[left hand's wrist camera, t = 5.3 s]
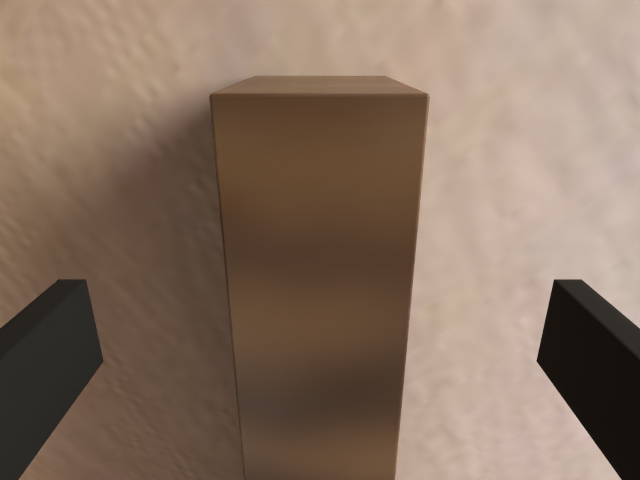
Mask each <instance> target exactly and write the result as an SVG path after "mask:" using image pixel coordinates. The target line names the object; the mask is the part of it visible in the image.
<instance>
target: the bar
mask: <svg viewBox="0 0 640 480" xmlns="http://www.w3.org/2000/svg"><path fill="white" fill-rule="evenodd" d="M210 108H211V119H212V130H213V141H214V152H215V163H216V174H217V185H218V196H219V207H220V218H221V229H222V240H223V251H224V262H225V273H226V284H227V295H228V306H229V317H230V328H231V338H232V349H233V360H234V371H235V382H236V393H237V404H238V415H239V426H240V437H241V448H242V459H243V470H244V480H395V473H396V462H397V451H398V440H399V429H400V418H401V407H402V396H403V385H404V374H405V363H406V352H407V341H408V330H409V319H410V307H411V296H412V285H413V274H414V263H415V252H416V241H417V230H418V219H419V208H420V197H421V186H422V175H423V164H424V153H425V141H426V130H427V119H428V108H429V94H427V93H424V92H422V91H420V90H417V89H415V88H412V87H410V86H408V85H405V84H403V83H401V82H398V81H396V80H393V79H391V78H389V77H386V76H254V77H252V78H249V79H247V80H244V81H242V82H239V83H237V84H234V85H232V86H230V87H227V88H225V89H222V90H220V91H217V92H215V93H212V94H210Z"/></svg>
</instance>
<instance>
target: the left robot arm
mask: <svg viewBox="0 0 640 480" xmlns="http://www.w3.org/2000/svg"><path fill="white" fill-rule="evenodd" d="M102 362H103V357H102V352H101V348H100V343H99V338H98V334H97V329H96V324H95V320H94V315H93V310H92V306H91V301H90V296H89V292H88V287H87V282H86V280H57V281H56V282H55V283H54V284H53V285H52V286H50V287H49V288H48V289H47V290H46V291H44V292H43V293H42V294H41V295H40V296H38V297H37V298H36V299H35V300H34V301H33V302H31V303H30V304H29V305H28V306H27V307H25V308H24V309H23V310H22V311H21V312H19V313H18V314H17V315H16V316H15V317H14V318H12V319H11V320H10V321H9V322H8V323H6V324H5V325H4V326H3V327H2V328H0V480H18V479H19V478H20V477H21V475H22V474H23V472H24V471H25V470H26V468H27V467H28V465H29V464H30V463H31V461H32V460H33V458H34V457H35V456H36V454H37V453H38V451H39V450H40V449H41V447H42V446H43V445H44V443H45V442H46V440H47V439H48V438H49V436H50V435H51V433H52V432H53V431H54V429H55V428H56V426H57V425H58V424H59V422H60V421H61V419H62V418H63V417H64V415H65V414H66V412H67V411H68V410H69V408H70V407H71V406H72V404H73V403H74V401H75V400H76V399H77V397H78V396H79V394H80V393H81V392H82V390H83V389H84V387H85V386H86V385H87V383H88V382H89V380H90V379H91V378H92V376H93V375H94V374H95V372H96V371H97V369H98V368H99V367H100V365H101V364H102ZM537 362H538V364H539V365H540V367H541V368H542V369H543V371H544V372H545V374H546V375H547V376H548V378H549V379H550V380H551V382H552V383H553V385H554V386H555V387H556V389H557V390H558V392H559V393H560V394H561V396H562V397H563V399H564V400H565V401H566V403H567V404H568V406H569V407H570V408H571V410H572V411H573V412H574V414H575V415H576V417H577V418H578V419H579V421H580V422H581V424H582V425H583V426H584V428H585V429H586V431H587V432H588V433H589V435H590V436H591V438H592V439H593V440H594V442H595V443H596V445H597V446H598V447H599V449H600V450H601V451H602V453H603V454H604V456H605V457H606V458H607V460H608V461H609V463H610V464H611V465H612V467H613V468H614V470H615V471H616V472H617V474H618V475H619V477H620V478H621V479H622V480H640V328H638V327H637V326H636V325H635V324H634V323H632V322H631V321H630V320H629V319H628V318H626V317H625V316H624V315H623V314H622V313H621V312H619V311H618V310H617V309H616V308H615V307H613V306H612V305H611V304H610V303H609V302H607V301H606V300H605V299H604V298H603V297H602V296H600V295H599V294H598V293H597V292H596V291H594V290H593V289H592V288H591V287H590V286H588V285H587V284H586V283H585V282H584V281H583V280H554V282H553V287H552V292H551V296H550V301H549V306H548V310H547V315H546V320H545V324H544V329H543V334H542V338H541V343H540V348H539V352H538V357H537Z"/></svg>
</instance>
